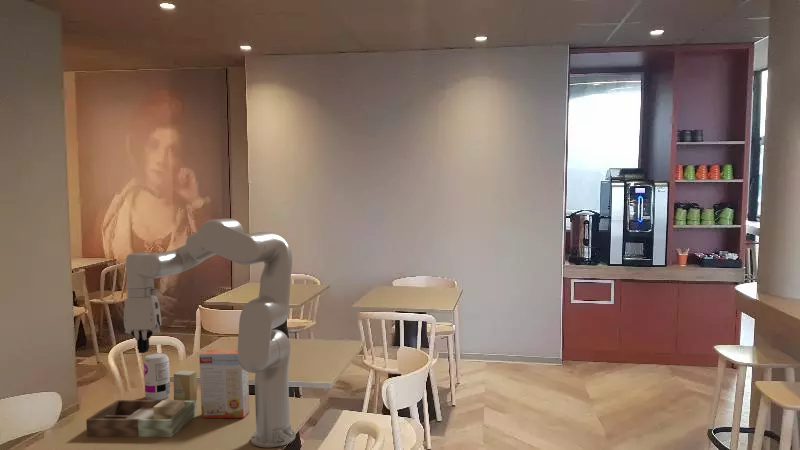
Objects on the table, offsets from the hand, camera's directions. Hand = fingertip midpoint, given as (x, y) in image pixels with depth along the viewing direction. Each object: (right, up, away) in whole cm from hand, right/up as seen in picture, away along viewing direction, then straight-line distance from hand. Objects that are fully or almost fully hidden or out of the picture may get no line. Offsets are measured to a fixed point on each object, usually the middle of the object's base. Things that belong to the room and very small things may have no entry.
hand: (143, 351), depth 185 cm
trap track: (0, -23, +1) cm, 23 cm away
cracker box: (+23, -22, +8) cm, 33 cm away
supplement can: (-6, -22, +27) cm, 35 cm away
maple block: (+8, -20, 0) cm, 21 cm away
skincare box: (+8, -22, +15) cm, 28 cm away
